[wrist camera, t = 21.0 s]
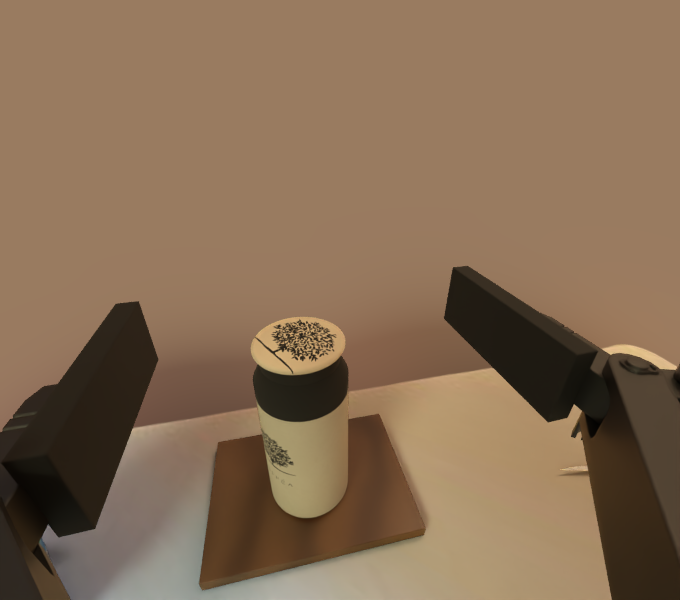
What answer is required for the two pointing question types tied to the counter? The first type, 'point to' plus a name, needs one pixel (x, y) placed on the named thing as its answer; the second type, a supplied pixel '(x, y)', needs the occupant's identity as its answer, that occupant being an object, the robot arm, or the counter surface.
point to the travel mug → (303, 412)
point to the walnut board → (295, 532)
